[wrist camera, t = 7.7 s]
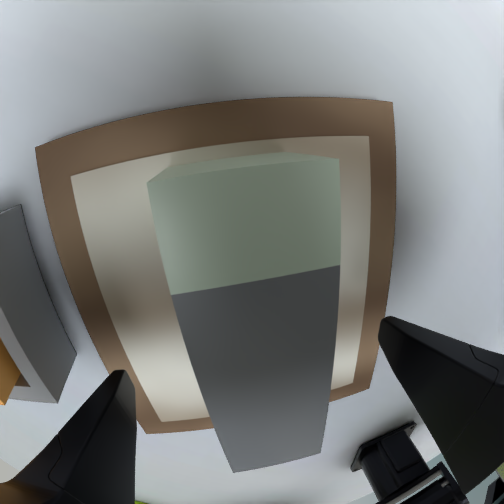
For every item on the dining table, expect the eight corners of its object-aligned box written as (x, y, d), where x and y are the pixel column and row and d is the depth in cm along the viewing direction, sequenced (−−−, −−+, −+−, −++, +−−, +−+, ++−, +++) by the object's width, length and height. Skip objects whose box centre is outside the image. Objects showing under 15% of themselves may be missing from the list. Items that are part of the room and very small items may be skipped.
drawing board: (362, 378, 16) (370, 390, 15) (147, 421, 15) (146, 436, 14) (378, 103, 10) (395, 101, 9) (46, 146, 9) (32, 147, 8)
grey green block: (296, 394, 14) (320, 452, 10) (222, 409, 13) (233, 472, 10) (285, 151, 9) (338, 158, 6) (167, 167, 9) (146, 182, 5)
